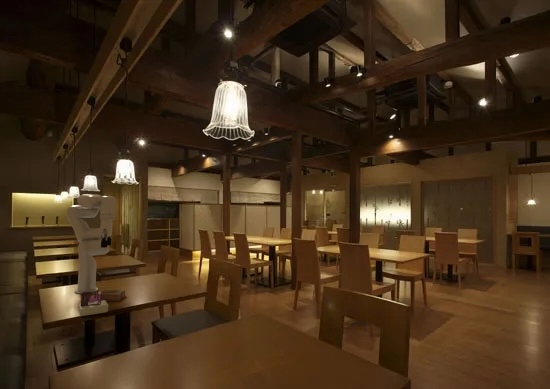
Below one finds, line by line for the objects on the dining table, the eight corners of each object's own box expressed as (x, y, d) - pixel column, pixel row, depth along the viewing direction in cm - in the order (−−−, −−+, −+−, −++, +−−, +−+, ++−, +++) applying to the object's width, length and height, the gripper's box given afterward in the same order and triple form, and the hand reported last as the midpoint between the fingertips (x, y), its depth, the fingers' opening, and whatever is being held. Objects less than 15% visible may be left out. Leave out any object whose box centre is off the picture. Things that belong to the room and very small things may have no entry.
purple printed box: (81, 292, 156) (101, 290, 160) (82, 293, 160) (102, 291, 164) (80, 306, 154) (101, 304, 158) (81, 306, 158) (101, 304, 162)
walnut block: (104, 296, 185) (104, 289, 185) (125, 296, 186) (125, 289, 186) (96, 301, 175) (96, 294, 175) (118, 301, 176) (118, 294, 176)
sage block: (78, 311, 158) (78, 303, 158) (104, 307, 165) (105, 300, 166) (80, 317, 150) (80, 309, 150) (107, 312, 157) (108, 305, 158)
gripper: (103, 216, 188) (102, 244, 187) (96, 217, 172) (94, 248, 171) (117, 216, 190) (116, 244, 190) (111, 217, 174) (109, 248, 173)
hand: (106, 246), depth 180 cm, fingers open, 9 cm apart
